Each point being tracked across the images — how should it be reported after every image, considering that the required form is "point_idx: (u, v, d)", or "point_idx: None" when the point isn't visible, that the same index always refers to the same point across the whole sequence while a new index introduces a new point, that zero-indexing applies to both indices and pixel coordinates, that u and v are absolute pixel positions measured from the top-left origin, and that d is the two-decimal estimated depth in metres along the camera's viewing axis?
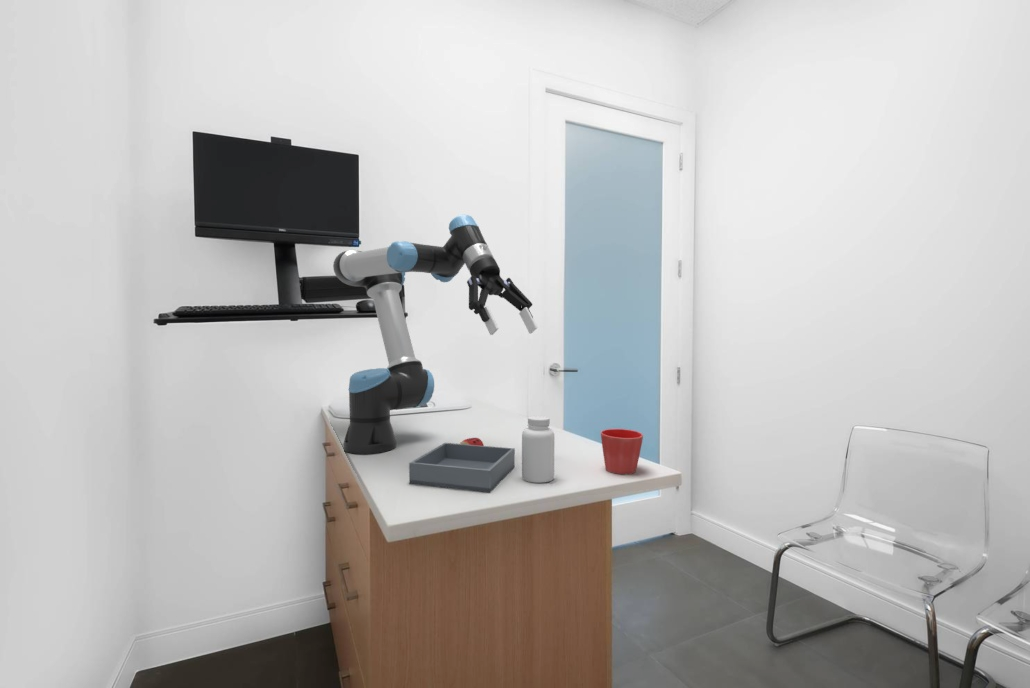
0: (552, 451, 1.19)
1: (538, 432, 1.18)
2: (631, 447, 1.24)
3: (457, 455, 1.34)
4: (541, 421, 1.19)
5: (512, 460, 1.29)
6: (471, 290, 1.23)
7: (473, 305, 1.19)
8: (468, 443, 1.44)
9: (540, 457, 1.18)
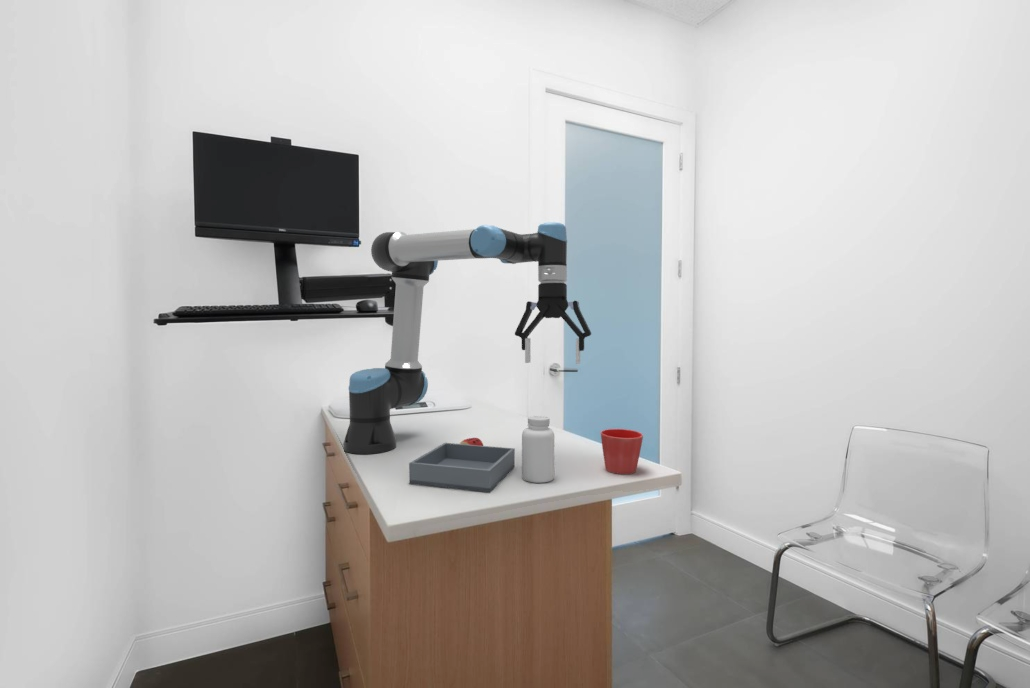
0: (552, 451, 1.19)
1: (538, 432, 1.18)
2: (631, 447, 1.24)
3: (457, 455, 1.34)
4: (541, 421, 1.19)
5: (512, 460, 1.29)
6: None
7: None
8: (468, 443, 1.44)
9: (540, 457, 1.18)
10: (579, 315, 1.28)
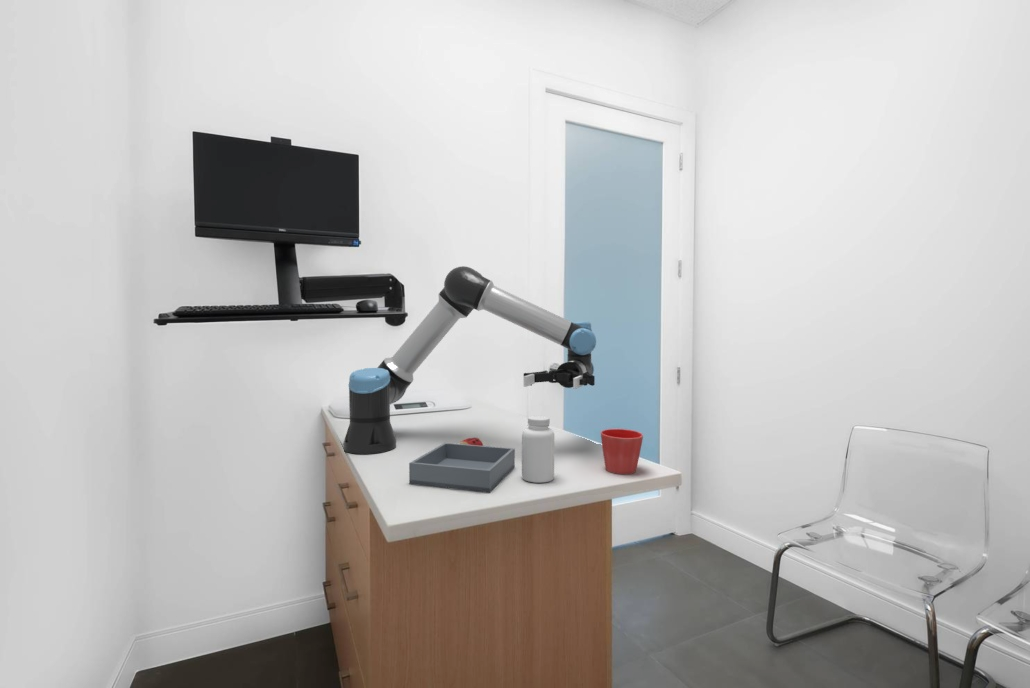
0: (552, 451, 1.19)
1: (538, 432, 1.18)
2: (631, 447, 1.24)
3: (457, 455, 1.34)
4: (541, 421, 1.19)
5: (512, 460, 1.29)
6: None
7: (593, 382, 1.32)
8: (467, 443, 1.44)
9: (540, 457, 1.18)
10: None
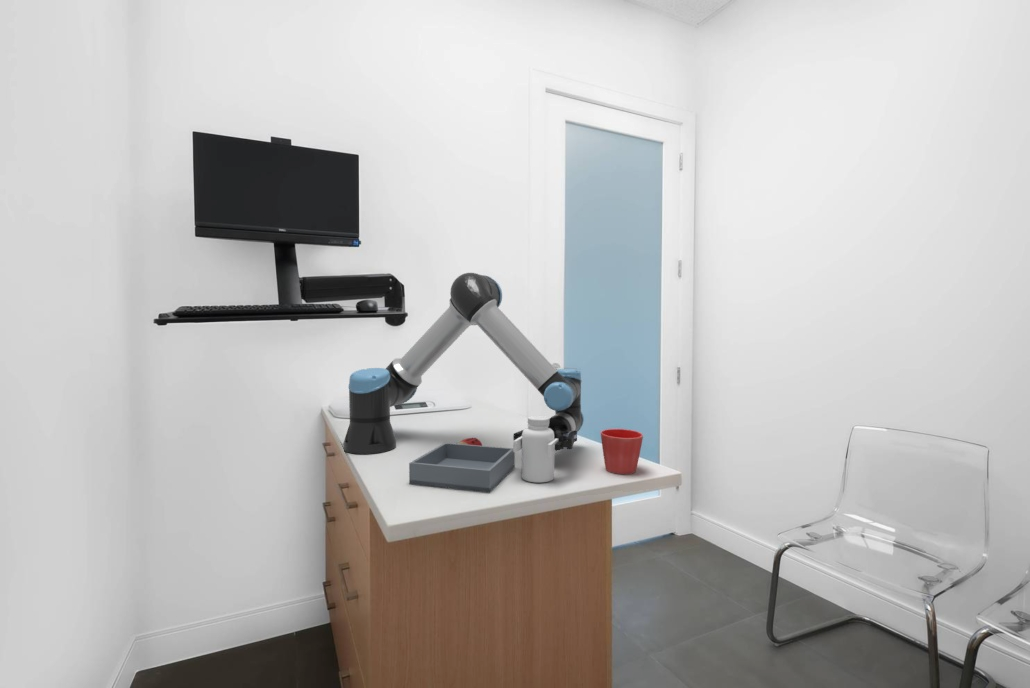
0: None
1: (538, 432, 1.18)
2: (631, 447, 1.24)
3: (457, 455, 1.34)
4: (541, 421, 1.18)
5: (512, 460, 1.29)
6: (573, 439, 1.26)
7: (569, 445, 1.21)
8: (467, 443, 1.44)
9: (540, 457, 1.17)
10: None
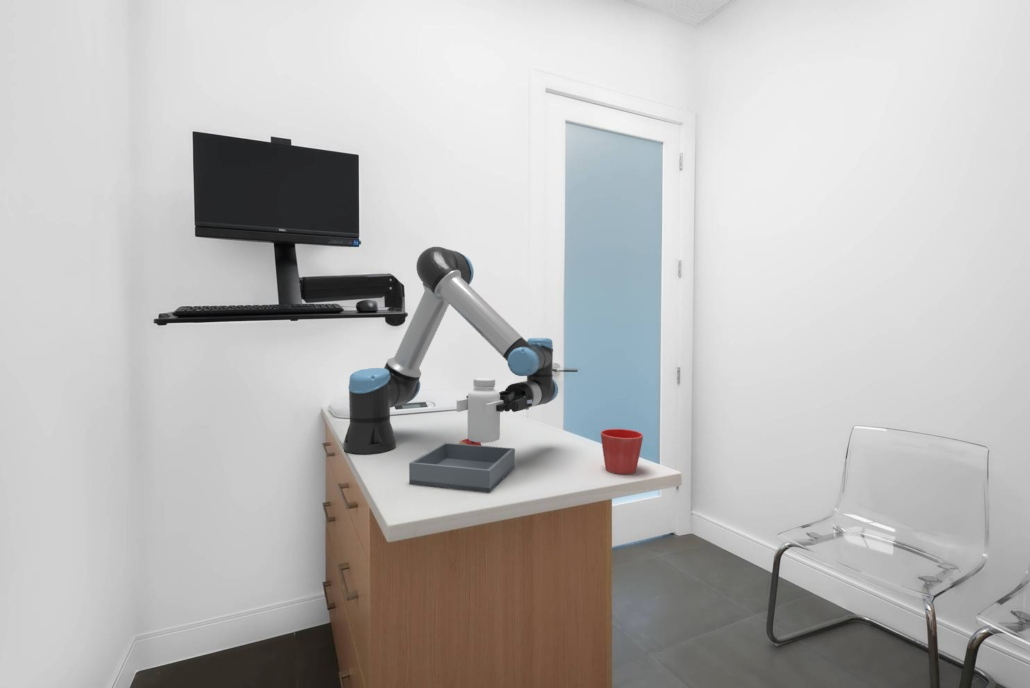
0: None
1: (479, 392, 1.19)
2: (631, 447, 1.24)
3: (457, 455, 1.34)
4: (483, 381, 1.19)
5: (512, 460, 1.29)
6: (524, 403, 1.25)
7: (514, 408, 1.20)
8: (466, 443, 1.43)
9: (481, 417, 1.18)
10: None
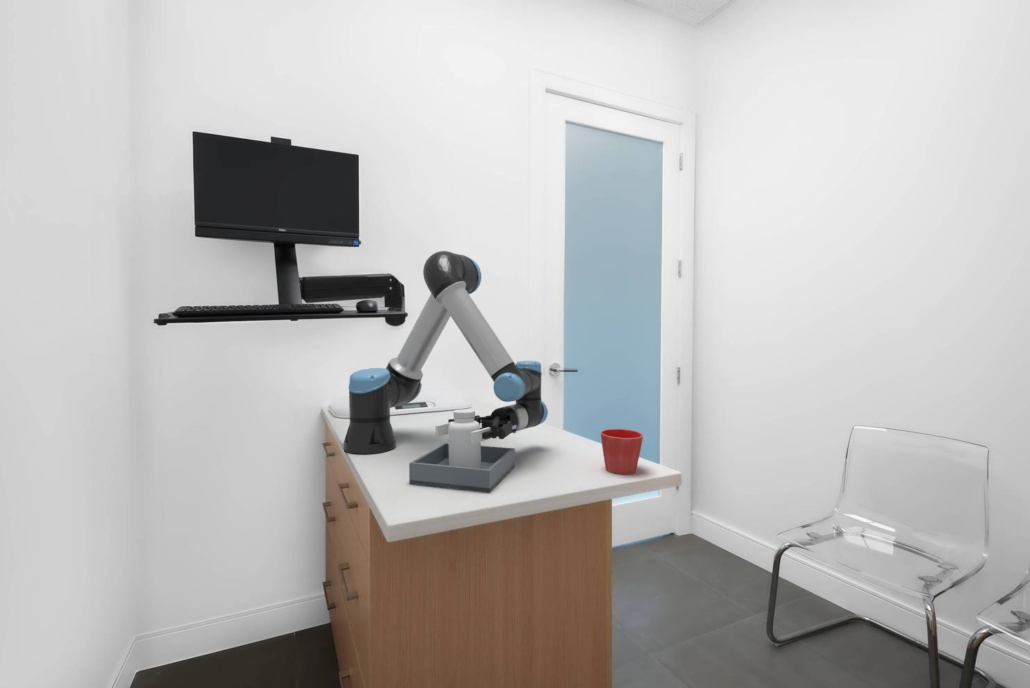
0: (474, 444, 1.21)
1: (458, 424, 1.20)
2: (631, 447, 1.24)
3: None
4: (462, 414, 1.21)
5: (512, 460, 1.29)
6: (509, 429, 1.26)
7: (501, 435, 1.21)
8: None
9: (460, 449, 1.20)
10: None
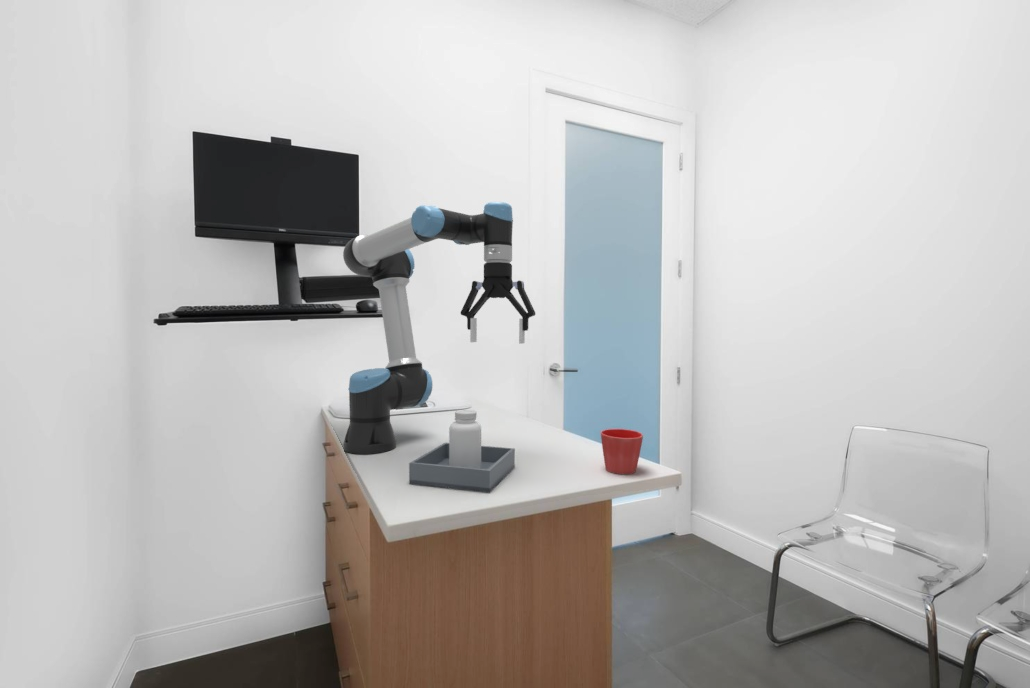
0: (475, 445, 1.21)
1: (459, 425, 1.20)
2: (631, 447, 1.24)
3: None
4: (464, 415, 1.20)
5: (512, 460, 1.29)
6: None
7: None
8: None
9: (461, 450, 1.20)
10: (523, 295, 1.29)
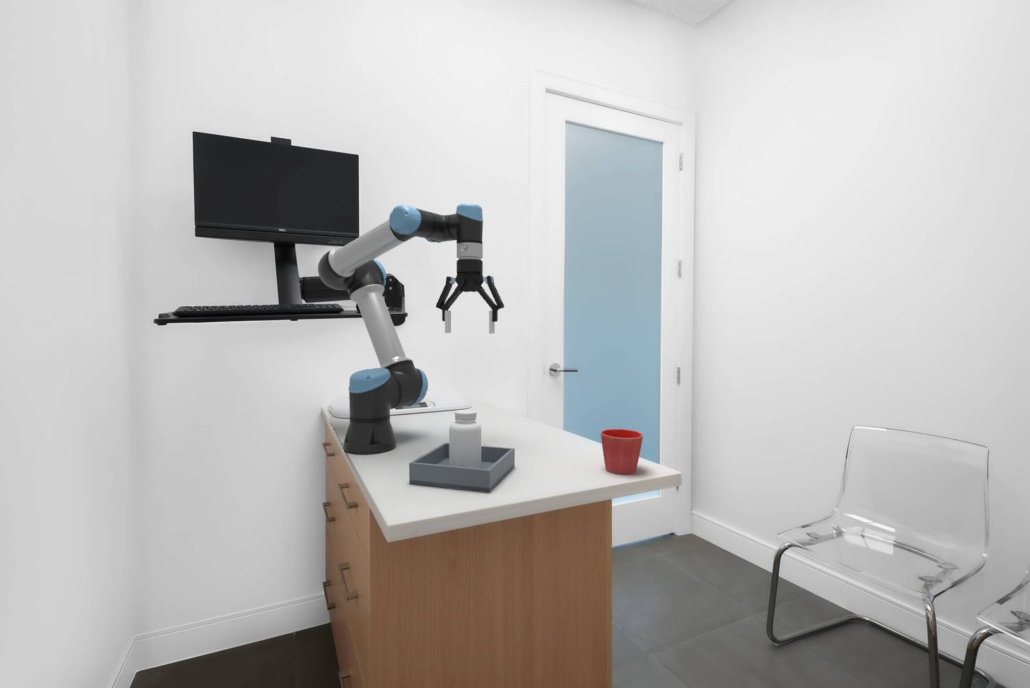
0: (475, 445, 1.21)
1: (459, 425, 1.20)
2: (631, 447, 1.24)
3: None
4: (464, 415, 1.21)
5: (512, 460, 1.29)
6: None
7: None
8: None
9: (461, 450, 1.20)
10: (492, 289, 1.40)
